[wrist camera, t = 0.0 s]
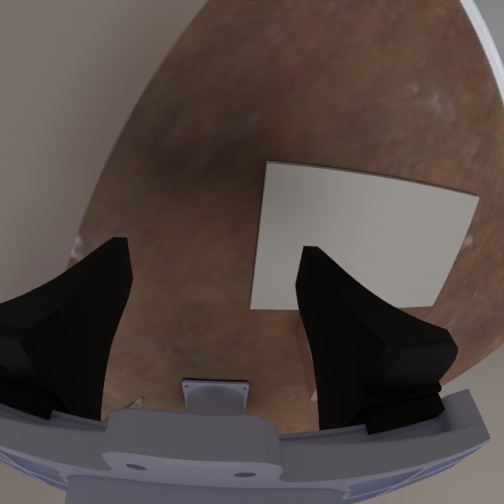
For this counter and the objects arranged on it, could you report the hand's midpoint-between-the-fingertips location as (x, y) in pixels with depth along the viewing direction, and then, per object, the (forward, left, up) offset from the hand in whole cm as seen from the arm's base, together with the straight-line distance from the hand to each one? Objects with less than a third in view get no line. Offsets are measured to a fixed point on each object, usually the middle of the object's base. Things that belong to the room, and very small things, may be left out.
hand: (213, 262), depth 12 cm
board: (-5, -13, -10) cm, 17 cm away
